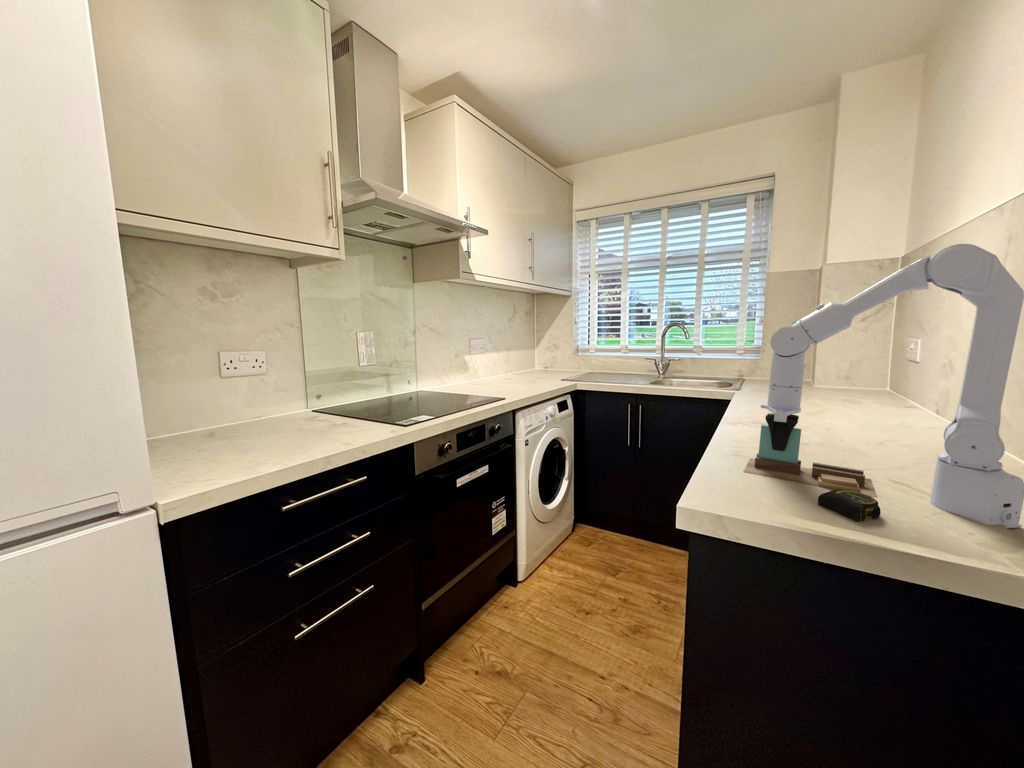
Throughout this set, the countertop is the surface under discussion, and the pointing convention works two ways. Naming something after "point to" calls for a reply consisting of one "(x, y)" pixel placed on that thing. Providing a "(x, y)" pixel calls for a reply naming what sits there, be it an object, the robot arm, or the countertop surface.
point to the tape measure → (850, 504)
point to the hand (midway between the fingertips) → (778, 449)
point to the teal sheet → (769, 453)
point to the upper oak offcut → (839, 480)
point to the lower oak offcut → (837, 486)
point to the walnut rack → (807, 473)
